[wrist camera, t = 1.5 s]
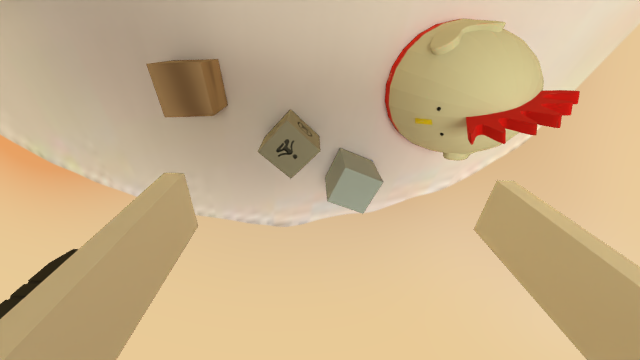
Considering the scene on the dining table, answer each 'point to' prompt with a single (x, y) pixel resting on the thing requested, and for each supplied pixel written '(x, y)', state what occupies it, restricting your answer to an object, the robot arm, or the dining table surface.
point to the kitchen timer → (470, 89)
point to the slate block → (352, 181)
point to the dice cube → (290, 144)
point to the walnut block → (188, 87)
